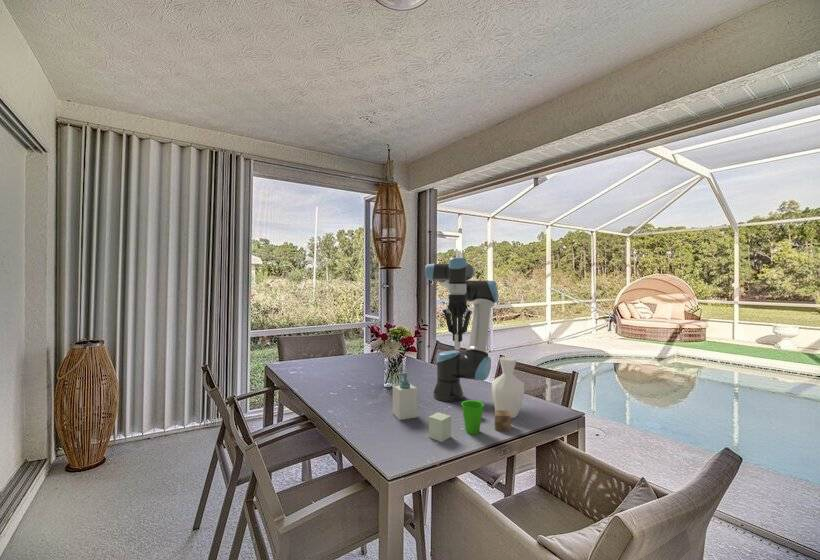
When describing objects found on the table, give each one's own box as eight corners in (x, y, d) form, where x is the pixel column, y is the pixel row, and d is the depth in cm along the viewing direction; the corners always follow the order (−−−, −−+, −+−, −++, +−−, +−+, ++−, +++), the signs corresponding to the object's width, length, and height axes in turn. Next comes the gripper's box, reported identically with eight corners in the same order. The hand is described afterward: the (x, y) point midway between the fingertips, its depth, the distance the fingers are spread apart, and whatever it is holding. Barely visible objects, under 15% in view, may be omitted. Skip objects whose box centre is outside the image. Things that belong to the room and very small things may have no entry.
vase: (506, 423, 153) (506, 363, 153) (484, 412, 166) (484, 357, 166) (531, 417, 160) (531, 360, 160) (508, 407, 172) (508, 354, 172)
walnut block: (495, 430, 147) (495, 415, 147) (494, 424, 152) (494, 410, 152) (510, 431, 145) (510, 416, 145) (509, 425, 151) (509, 411, 151)
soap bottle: (392, 413, 164) (392, 371, 164) (410, 410, 168) (410, 369, 168) (399, 420, 156) (399, 375, 156) (417, 417, 160) (417, 373, 160)
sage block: (428, 437, 140) (428, 416, 140) (438, 432, 144) (438, 412, 144) (441, 442, 136) (441, 420, 136) (450, 436, 140) (450, 415, 140)
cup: (458, 427, 149) (458, 400, 149) (480, 426, 150) (480, 399, 150) (463, 437, 140) (464, 408, 140) (487, 436, 141) (487, 407, 141)
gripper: (440, 293, 157) (439, 349, 157) (468, 294, 150) (468, 352, 150) (447, 293, 163) (447, 346, 163) (475, 293, 157) (475, 349, 157)
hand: (457, 349), depth 157 cm, fingers closed
